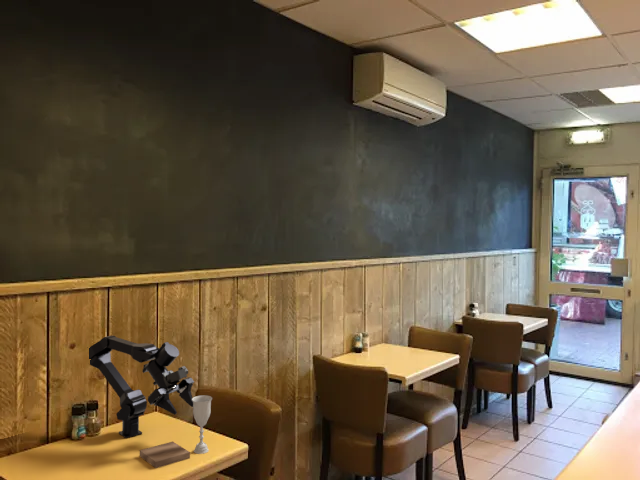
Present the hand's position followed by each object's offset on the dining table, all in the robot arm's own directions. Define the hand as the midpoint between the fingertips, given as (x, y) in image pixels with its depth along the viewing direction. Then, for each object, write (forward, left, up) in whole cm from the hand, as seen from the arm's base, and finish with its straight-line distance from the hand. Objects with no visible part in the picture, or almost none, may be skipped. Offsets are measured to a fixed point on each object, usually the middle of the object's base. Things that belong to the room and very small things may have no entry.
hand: (184, 409), depth 191 cm
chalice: (+7, +3, -13) cm, 15 cm away
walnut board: (+4, -9, -13) cm, 16 cm away
